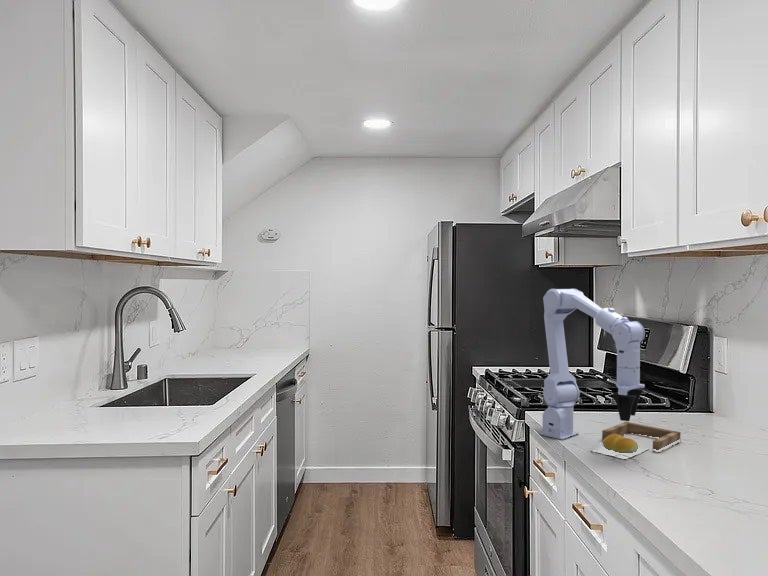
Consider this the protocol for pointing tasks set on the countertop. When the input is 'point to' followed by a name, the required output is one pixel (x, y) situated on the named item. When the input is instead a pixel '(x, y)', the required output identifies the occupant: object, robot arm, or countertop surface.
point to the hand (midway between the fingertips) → (627, 417)
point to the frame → (644, 433)
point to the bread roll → (620, 444)
